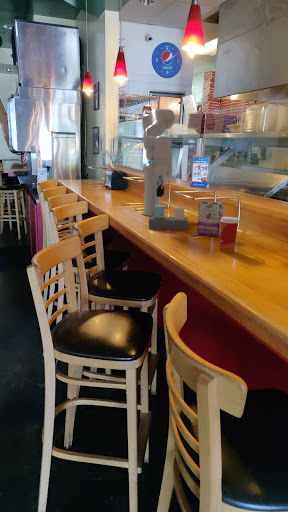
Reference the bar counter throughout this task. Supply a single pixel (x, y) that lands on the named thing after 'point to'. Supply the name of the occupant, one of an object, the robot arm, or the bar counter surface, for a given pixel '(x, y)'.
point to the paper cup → (228, 234)
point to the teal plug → (159, 211)
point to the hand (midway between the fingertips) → (160, 195)
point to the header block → (170, 221)
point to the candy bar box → (210, 218)
